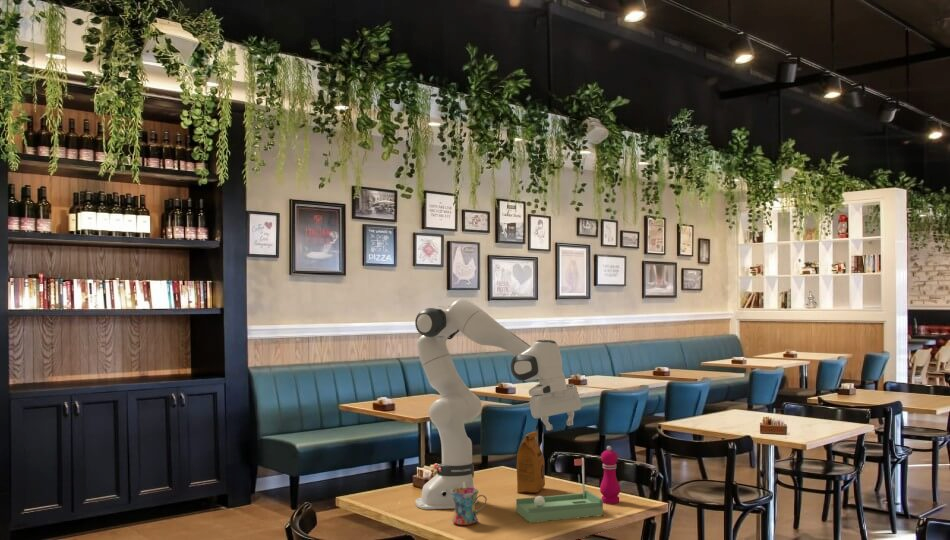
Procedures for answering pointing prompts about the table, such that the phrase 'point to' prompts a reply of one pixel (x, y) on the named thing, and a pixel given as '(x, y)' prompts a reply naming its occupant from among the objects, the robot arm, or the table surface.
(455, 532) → the table surface
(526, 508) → the green
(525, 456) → the coffee package
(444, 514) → the table surface
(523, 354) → the robot arm
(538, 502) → the ball
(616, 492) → the pepper mill
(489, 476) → the table surface
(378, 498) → the table surface
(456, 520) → the mug
